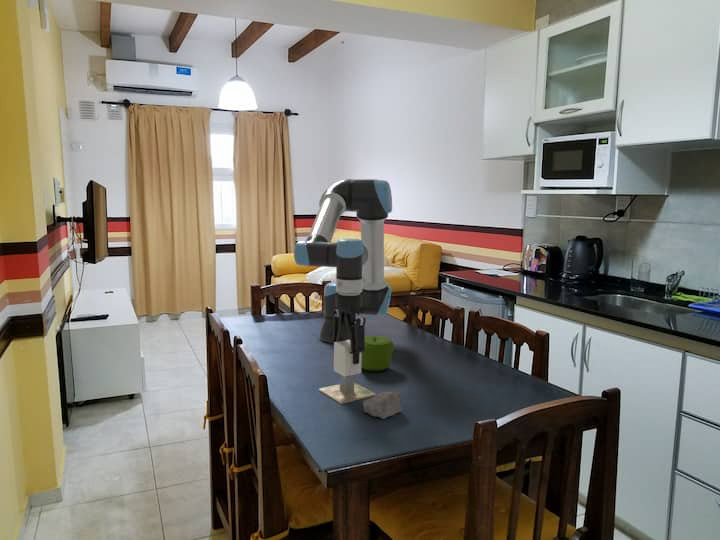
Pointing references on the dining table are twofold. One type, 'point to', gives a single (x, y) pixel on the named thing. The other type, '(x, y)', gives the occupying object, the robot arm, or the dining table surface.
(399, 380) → the dining table surface
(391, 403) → the stone
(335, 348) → the cream cuboid
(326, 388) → the square base with post
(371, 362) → the green apple
